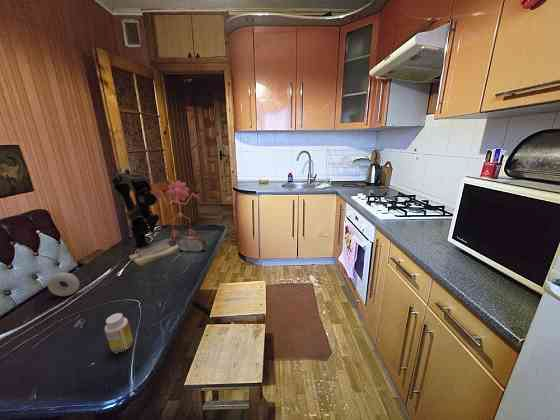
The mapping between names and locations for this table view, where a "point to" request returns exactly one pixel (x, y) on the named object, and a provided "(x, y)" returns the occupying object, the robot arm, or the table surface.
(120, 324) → the supplement bottle
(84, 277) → the table surface
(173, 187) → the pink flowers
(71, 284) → the donut
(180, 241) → the tin
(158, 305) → the table surface
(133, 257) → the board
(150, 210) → the robot arm
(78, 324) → the blueberries
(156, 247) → the tongs
